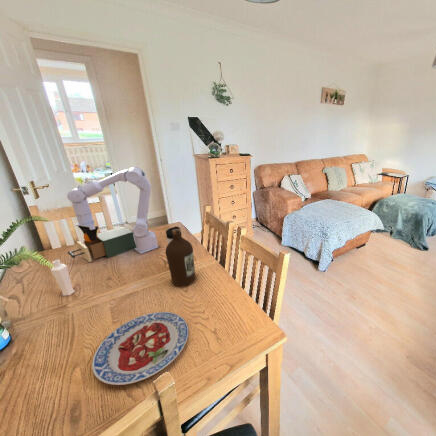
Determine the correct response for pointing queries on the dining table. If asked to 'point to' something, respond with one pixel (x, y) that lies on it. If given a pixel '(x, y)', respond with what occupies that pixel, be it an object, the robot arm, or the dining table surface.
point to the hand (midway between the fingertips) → (91, 238)
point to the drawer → (90, 250)
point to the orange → (87, 238)
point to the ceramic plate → (140, 348)
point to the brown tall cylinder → (170, 234)
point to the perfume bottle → (62, 277)
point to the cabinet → (117, 241)
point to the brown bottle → (180, 260)
